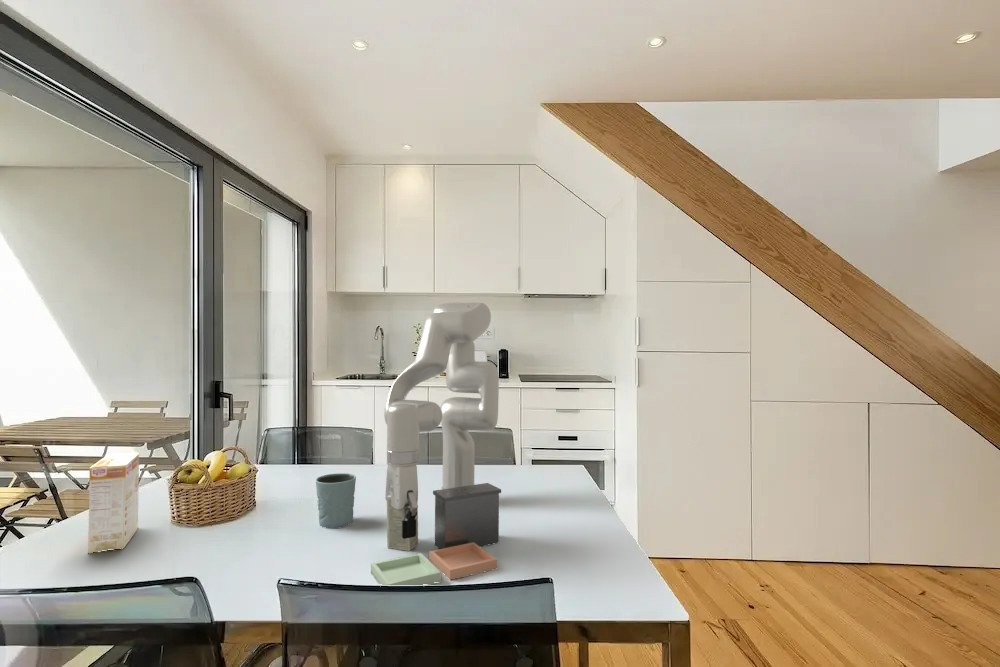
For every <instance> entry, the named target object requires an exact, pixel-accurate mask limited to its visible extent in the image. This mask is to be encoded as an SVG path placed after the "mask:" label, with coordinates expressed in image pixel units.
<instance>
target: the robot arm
mask: <svg viewBox="0 0 1000 667" xmlns="http://www.w3.org/2000/svg"><path fill="white" fill-rule="evenodd" d="M491 318H492V315H491V310H490V308H489V306H488V305H487V304H486V303H483V302H445V303H440V304H437V305H436V306H435V307H434V308H433V311H432V313H430V314H429V315H428V316H427V317H426V319H425V320H424V321H425V322H424V324H423V325H424V326H423V329H422V331H421V332H422V333H421V336H420V340H419V343H418V347H417V352H416V356H415V359H414V360H413V361H412V363H410V364H409V366H406V368H405V369H404V370H403V371H402V372H401V373H400V374H399V375H398V376H397V377H396V378H395V380H394V381H393V383H392V384H391V386H390V389H389V392H388V395H387V400H386V403H385V408H384V414H383V415H384V422H385V424H386V425H387V426H386V428H387V430H386V431H387V432H386V464H387V471H386V477H385V478H386V480H385V497H384V498H385V501H386V502H387V496H388V495H389V496H390V497H391V506H392V507H394V508H395V509H396V510H400V509H402V513H403V518H404V520H402V538H403V539H406V538H411V537H415V536H416V519H417V509H418V508H419V504H417V503H419V502H418V500H419V483H418V478H419V477H418V466H417V465H419V464H420V433H421V432H423V433H424V432H427V433H428V432H431V431H435V430H436V429H437V428H438V427H439V425H440V424H441V429H442V430H441V431H442V486H441V490H442V489H449V488H456V487H462V486H469V485H475V457H476V456H475V452H476V451H475V448H476V447H475V445H476V444H475V441H474V439H473V437H472V435H471V433H470V432H469V431H480V432H481V431H482V432H483V431H486V432H487V431H488V432H489V431H492V430H494V429H495V428H496V426H497V424H498V421H499V420H498V419H499V398H500V397H499V392H500V391H499V390H500V388H499V387H500V386H499V385H500V380H499V378H500V376H499V371H498V368H497V366H496V365H495V364H494V363H492V362H489V361H476V358H475V354H476V353H475V349H476V348H475V347H476V346H475V343H474V341H476V340H477V339H479V337H480V336H482V335H483V334H484V333H485V332H486V331H487V329H489V326H490V324H491ZM444 372H445V382H446V387H447V389H448V390H449V391H451V392H453V393H461V394H479V395H480V397H466V396H465V397H463V396H461V397H460V396H454V397H449V398H448V397H447V399H445V400H443V401H442V403H441V405H440V406H439V404H437V403H436V402H434V401H429V400H417V399H406V398H407V396H408V394H409V393H410V391H411V390H412V389H413V388H415V387H416V386H418V385H419V384H421V383H422V382H425V381H428V380H429V379H433V378H434V377H437V376H439V375H441V374H442V373H444ZM408 501H409V504H410V506H405V505H406V504H408ZM406 510H410V511H408V513H406Z"/></svg>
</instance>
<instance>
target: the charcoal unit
mask: <svg viewBox="0 0 1000 667" xmlns="http://www.w3.org/2000/svg"><path fill="white" fill-rule="evenodd" d="M500 494H502V489H501V488H499V487H497V486H495V485H493V484H490V483H489V482H484V483H477V484H474V485H469V486H462V487H456V488H449V489H442V488H441V489H436V490H433V491H432V495H433V496H434V546H435V547H436V546H437V547H438V549H443V548H448V547H453V546H458V545H463V544H467V543H472V542H474V543H476V544H477V545H478V546H481V547H485V546H484V545H486V546H489V545H488V544H491V545H494V544H493V543H495V544H499V543H498V542H500V541H499V539H500V538H499V537H500V536H499V535H500V533H499V532H500V531H499V529H500V528H499V527H500V522H499V521H500V520H499V519H500V515H499V512H500ZM437 547H436V548H437Z"/></svg>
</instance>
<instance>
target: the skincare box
mask: <svg viewBox="0 0 1000 667" xmlns="http://www.w3.org/2000/svg"><path fill="white" fill-rule="evenodd" d="M418 503H419V502H418ZM418 503H417V504H418ZM418 505H419V504H418ZM405 506H410V504H409V501H408V504H406V505H405ZM408 511H410V510H406V513H408ZM418 511H419V510H418V509H417V519H416V536H415V537H411V538H406V539H403V538H402V520H404V518H403V513H402V509H400V510H396V509H395V508H394V507H392V506H391V497H390V496H389V495H388V496H387V501H386V542H387V544H386V545H387V546H386V548H387V547H388V548H387V549H392V548H393V549H394V550H401V551H408V552H410V551H412V550H413V549H414V548H416V547H417V546H418V545H419V512H418ZM393 549H392V550H393Z"/></svg>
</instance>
